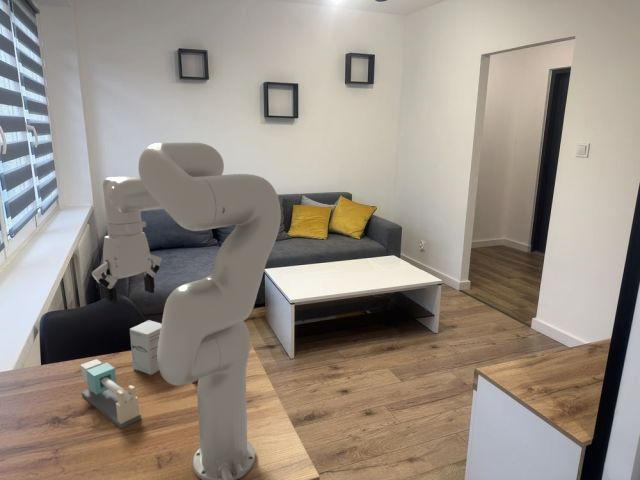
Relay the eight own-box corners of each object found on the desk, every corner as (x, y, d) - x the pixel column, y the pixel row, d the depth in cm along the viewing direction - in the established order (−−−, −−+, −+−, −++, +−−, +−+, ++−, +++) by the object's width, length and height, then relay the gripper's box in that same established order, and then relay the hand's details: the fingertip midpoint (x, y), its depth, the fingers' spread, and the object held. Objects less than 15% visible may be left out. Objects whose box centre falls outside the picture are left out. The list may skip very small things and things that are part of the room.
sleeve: (116, 385, 110) (114, 367, 109) (96, 394, 107) (94, 376, 105) (108, 380, 113) (107, 362, 112) (88, 388, 109) (86, 370, 108)
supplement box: (132, 369, 126) (128, 328, 123) (152, 358, 132) (149, 319, 129) (150, 376, 123) (147, 334, 120) (170, 364, 129) (167, 324, 126)
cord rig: (141, 418, 104) (138, 386, 102) (120, 428, 101) (117, 395, 99) (101, 387, 117) (98, 358, 115) (82, 395, 113) (78, 365, 111)
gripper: (149, 222, 114) (154, 285, 117) (80, 232, 100) (88, 303, 104) (166, 225, 109) (171, 291, 113) (96, 237, 96) (104, 311, 100)
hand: (131, 297), depth 108 cm, fingers open, 9 cm apart
